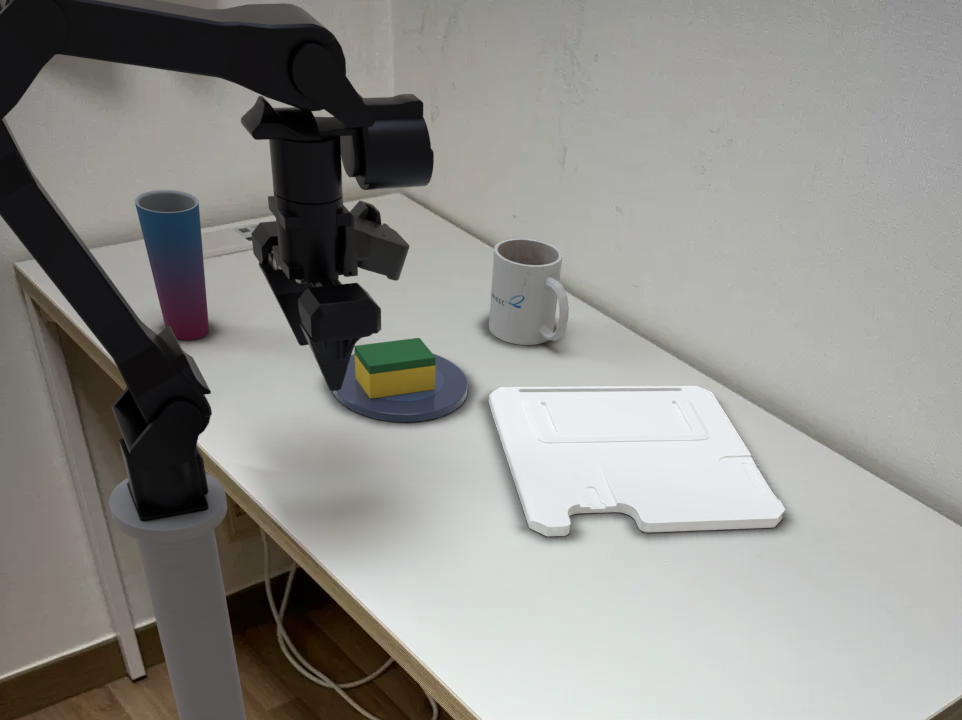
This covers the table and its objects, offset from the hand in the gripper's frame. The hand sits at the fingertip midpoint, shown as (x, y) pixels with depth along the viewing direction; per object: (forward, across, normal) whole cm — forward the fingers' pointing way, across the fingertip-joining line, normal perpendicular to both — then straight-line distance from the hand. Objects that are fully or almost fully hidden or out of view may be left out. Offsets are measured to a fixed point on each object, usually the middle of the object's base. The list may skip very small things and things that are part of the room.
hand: (319, 366), depth 94 cm
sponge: (+11, +14, -13) cm, 22 cm away
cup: (+12, +35, +6) cm, 37 cm away
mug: (+12, +23, -35) cm, 44 cm away
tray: (+12, -7, -33) cm, 36 cm away
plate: (+12, +15, -14) cm, 24 cm away
